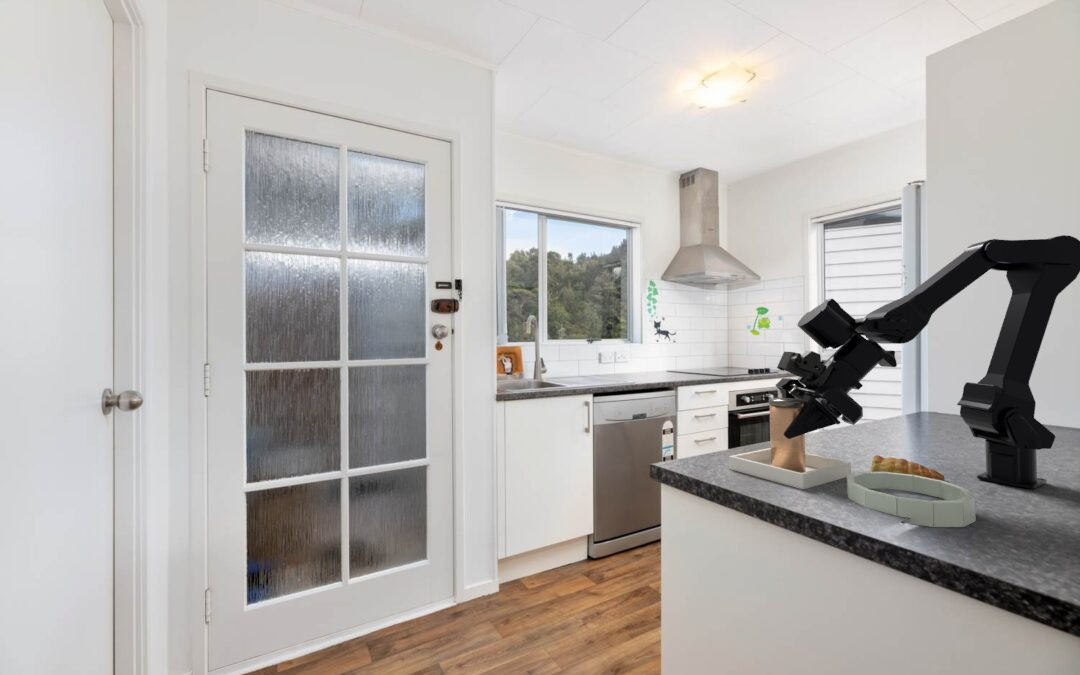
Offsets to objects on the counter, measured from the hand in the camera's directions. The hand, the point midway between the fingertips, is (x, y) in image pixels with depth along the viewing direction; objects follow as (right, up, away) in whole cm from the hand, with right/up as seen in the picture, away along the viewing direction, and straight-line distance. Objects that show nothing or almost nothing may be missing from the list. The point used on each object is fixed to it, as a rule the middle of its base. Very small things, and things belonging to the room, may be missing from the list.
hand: (778, 433), depth 78 cm
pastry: (+18, -8, -3) cm, 20 cm away
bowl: (+10, -7, -15) cm, 19 cm away
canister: (+1, -7, 0) cm, 7 cm away
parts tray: (+1, -7, 0) cm, 7 cm away
